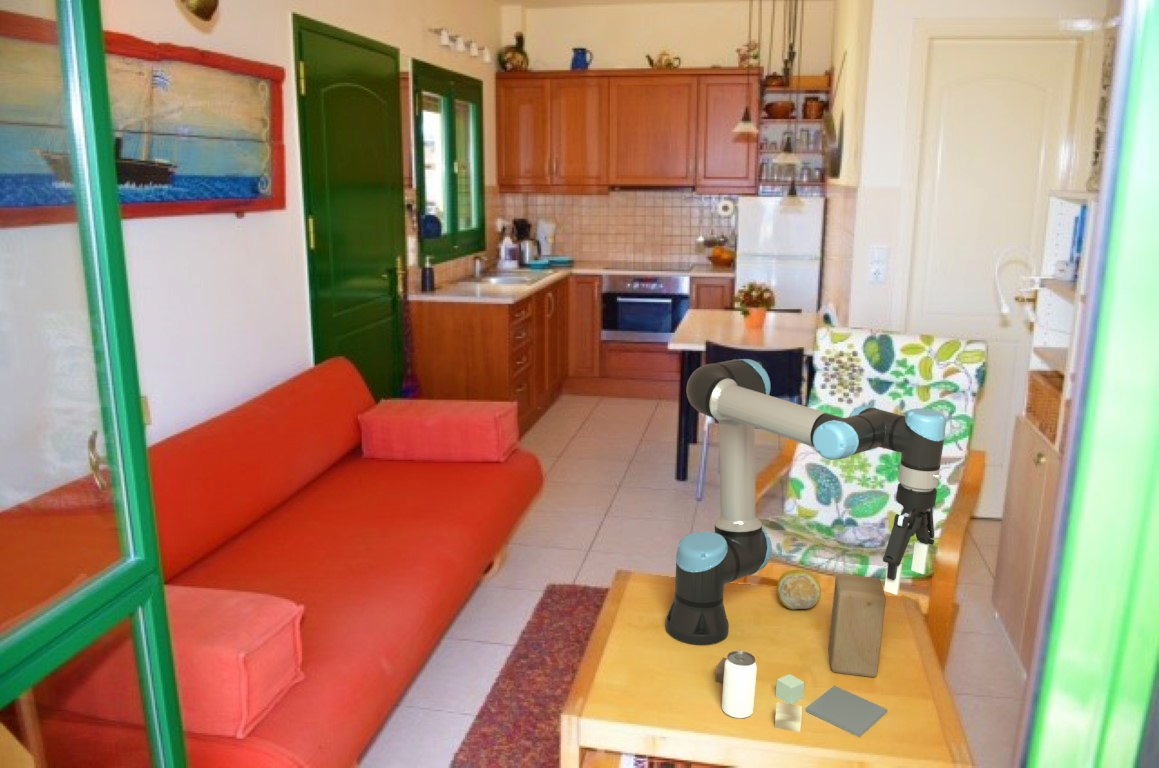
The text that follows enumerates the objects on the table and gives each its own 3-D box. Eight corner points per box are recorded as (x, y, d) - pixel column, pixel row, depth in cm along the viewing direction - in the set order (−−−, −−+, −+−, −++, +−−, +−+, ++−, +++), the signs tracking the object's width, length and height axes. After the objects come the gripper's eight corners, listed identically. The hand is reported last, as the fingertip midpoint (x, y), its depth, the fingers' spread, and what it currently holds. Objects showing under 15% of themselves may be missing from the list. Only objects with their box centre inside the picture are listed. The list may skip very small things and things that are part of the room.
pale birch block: (774, 728, 176) (776, 710, 175) (775, 719, 179) (776, 702, 178) (800, 732, 175) (801, 714, 174) (800, 723, 178) (801, 706, 177)
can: (732, 722, 177) (736, 669, 175) (715, 705, 183) (719, 653, 180) (759, 715, 180) (763, 662, 177) (741, 698, 186) (745, 647, 183)
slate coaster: (805, 711, 182) (805, 707, 182) (834, 688, 190) (834, 685, 190) (859, 737, 174) (859, 733, 173) (886, 712, 182) (887, 709, 182)
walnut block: (715, 682, 192) (716, 665, 191) (721, 673, 195) (723, 657, 194) (733, 687, 190) (734, 670, 189) (739, 678, 193) (740, 662, 192)
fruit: (770, 599, 230) (773, 564, 228) (809, 598, 232) (813, 563, 229) (783, 618, 220) (786, 581, 218) (824, 617, 222) (828, 580, 219)
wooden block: (877, 679, 194) (887, 596, 190) (830, 673, 196) (839, 591, 192) (872, 656, 204) (881, 576, 199) (827, 650, 206) (835, 571, 201)
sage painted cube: (775, 696, 187) (777, 679, 186) (788, 690, 189) (789, 673, 188) (790, 705, 184) (791, 688, 183) (802, 699, 186) (804, 682, 185)
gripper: (910, 506, 167) (897, 608, 172) (958, 476, 185) (945, 569, 190) (873, 495, 172) (861, 595, 177) (923, 467, 190) (911, 558, 194)
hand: (904, 582), depth 183 cm, fingers open, 13 cm apart
